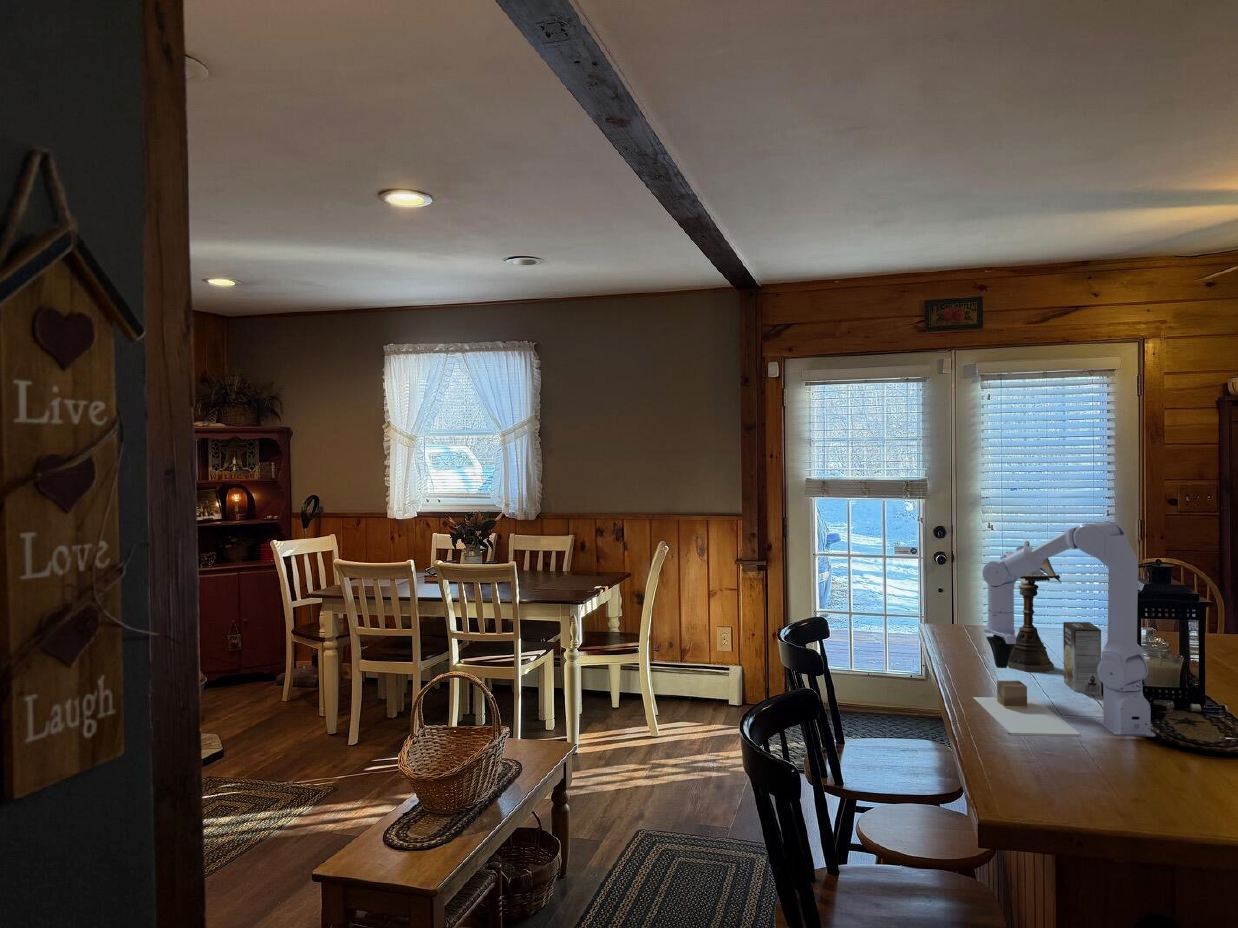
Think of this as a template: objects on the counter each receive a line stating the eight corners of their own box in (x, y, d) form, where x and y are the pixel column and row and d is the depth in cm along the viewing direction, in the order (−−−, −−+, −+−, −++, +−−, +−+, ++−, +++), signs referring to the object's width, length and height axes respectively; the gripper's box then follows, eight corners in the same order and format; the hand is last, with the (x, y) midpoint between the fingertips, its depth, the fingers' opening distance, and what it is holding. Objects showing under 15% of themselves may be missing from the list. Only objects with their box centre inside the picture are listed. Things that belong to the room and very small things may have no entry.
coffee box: (1062, 684, 215) (1061, 621, 215) (1090, 685, 214) (1089, 621, 214) (1074, 694, 206) (1073, 628, 206) (1103, 695, 205) (1102, 629, 205)
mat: (1080, 736, 176) (1080, 733, 176) (1010, 735, 178) (1010, 732, 178) (1034, 700, 202) (1034, 697, 202) (972, 699, 204) (972, 697, 204)
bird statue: (1071, 677, 221) (1069, 543, 221) (1017, 675, 224) (1015, 543, 223) (1052, 662, 237) (1050, 537, 237) (1002, 660, 240) (1000, 537, 240)
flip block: (1027, 708, 194) (1027, 686, 194) (1004, 707, 195) (1004, 686, 195) (1019, 701, 199) (1019, 680, 199) (997, 701, 200) (996, 680, 199)
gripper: (974, 605, 211) (974, 659, 211) (993, 616, 197) (993, 674, 197) (1003, 605, 210) (1004, 659, 211) (1025, 616, 196) (1025, 675, 196)
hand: (1001, 667), depth 204 cm, fingers closed
